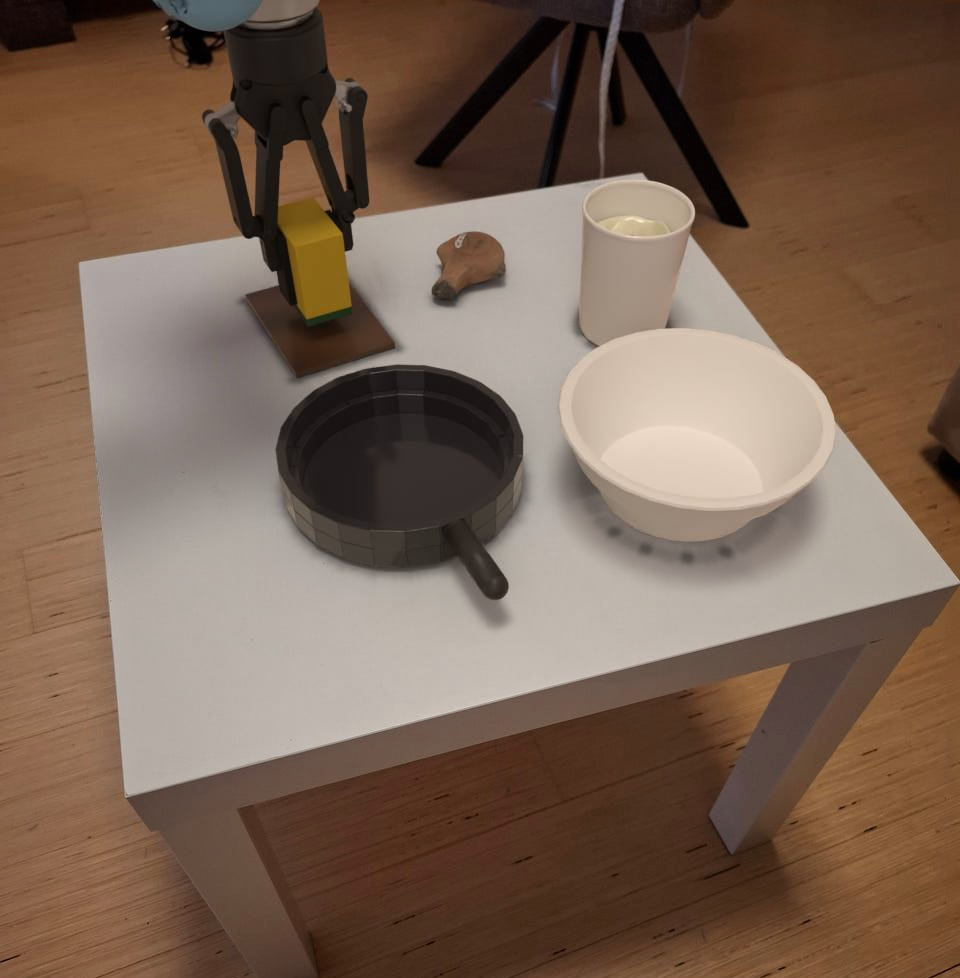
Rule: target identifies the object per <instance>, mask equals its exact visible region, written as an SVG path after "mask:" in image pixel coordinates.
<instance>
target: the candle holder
mask: <svg viewBox="0 0 960 978" xmlns="http://www.w3.org/2000/svg"><path fill="white" fill-rule="evenodd" d="M581 212H582V222H581V223H582V224H581V225H582V227H581V253H580V254H581V255H580V277H579V278H580V279H579V311H578V313H579V318H578V319H579V321H578V322H579V328H580V330H581V333H582V334H583V335H584V337H585V338H586V339H588V341H590V342H591V343H593V344H594V345H596V346H597V347H599V346H601V345H603V344H605V343H607V342H609V341H612V340H614V339H616V338H619V337H623V336H626V335H629V334H633V333H636V332H642V331H648V330H655V329H666V327H667V323H668V320H669V316H670V312H671V309H672V305H673V301H674V297H675V293H676V289H677V285H678V282H679V278H680V273H681V269H682V264H683V261H684V257H685V254H686V249H687V246H688V243H689V238H690V233H691V230H692V226H693V223H694V221H695V219H696V209H695V206H694V203H693V202H692V200H691V199H690V198H689V197H688V196H687V195H686V194H685V193H683V192H682V191H680V190H679V189H678V188H675V187H673V186H672V185H671V186H670V185H668V184H665V183H662V182H659V181H653V180H648V179H640V178H639V179H638V178H635V179H634V178H633V179H629V178H627V179H617V180H614V181H609V182H606V183H603V184H600V185H597V186H596V187H594V188H593V189H592V190H591V191H589V192H588V193H587V195H585V197H584V199H583V201H582V205H581Z"/></svg>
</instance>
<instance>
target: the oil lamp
mask: <svg viewBox="0 0 960 978" xmlns="http://www.w3.org/2000/svg"><path fill="white" fill-rule="evenodd" d="M435 253H436V255H437V257H438V259H439V261H440V263H441V266H442V269H443V271H442V272H441V274H440V277H439V278H438V279H437V280H436V281H435V283H434V284H433V285H432V286H431V294H432V296H433V297H435V298H437V299H440V300H444V299H448V300H452V299H455V298H456V296H457V295H458V293H459V292H460V291H461V290H462V289H464V288H466V287H468V286H471V285H477V284H479V283H481V282H486V281H489V280H491V279H494V278H497V277H499V278H500V277H501V276H503V275H504V274H505V273H506V272H507V269H506V262H505V260H506V259H505V258H506V255H505V250H504V248H503V245H502V244H501V242H500V241H499V240H498V239H496V238H495V237H493V236H492V235H491V234H488V233H486V232H483V231H476V230H475V231H473V230H472V231H471V230H470V231H465V232H462V233H459V234H456V235H455V236H453V237H451V238H450V239H448V240H446V241H444V242H442V243H441V244H439V245H438V247H437V248H436V252H435Z"/></svg>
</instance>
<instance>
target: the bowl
mask: <svg viewBox="0 0 960 978" xmlns="http://www.w3.org/2000/svg"><path fill="white" fill-rule="evenodd" d="M557 411H558V412H557V413H558V417H559V425H560V428H561V430H562V432H563V434H564V436H565V438H566V441H567V443H568V445H569V447H570V449H571V451H572V453H573V455H574V457H575V459H576V461H577V463H578V465H579V467H580V469H581V471H582V472H583V473H584V474H585V476H586V477H587V478H588V479H589V481H590V482H591V483H592V485H594V486H595V487H596V488H597V489H598V492H599V493H600V495H601V498H602V499H603V502H604V503H605V504H606V506H607V507H608V508H609V510H610V511H611V512H612V513H613V514H614V515H616V516H617V517H618V518H619V519H620V520H621V521H623V522H624V523H625V524H627V525H629V526H631V527H633V528H634V529H636V530H637V531H640V532H643V533H644V534H647V535H649V536H652V537H656V538H660V539H663V540H668V541H676V542H685V543H689V542H707V541H712V540H716V539H720V538H724V537H726V536H728V535H731V534H733V533H735V532H737V531H738V530H740V529H742V528H743V527H745V526H746V525H747V524H748V523H749V522H750V521H752V520H755V519H757V518H760V517H763V516H765V515H768V514H770V513H772V512H773V511H774V510H776V509H778V508H779V507H781V506H783V505H784V504H785V503H787V502H788V501H789V500H791V499H792V498H793V497H794V496H796V495H797V494H798V493H799V492H801V491H802V490H804V488H807V487H808V485H810V484H811V483H812V482H813V481H814V480H815V479H816V478H817V477H818V476H819V475H820V474H821V473H822V472H823V471H824V469H825V468H826V466H827V464H828V463H829V461H830V459H831V458H832V455H833V453H834V448H835V443H836V438H837V429H836V422H835V414H834V412H833V410H832V408H831V405H830V403H829V400H828V398H827V396H826V395H825V394H824V392H823V391H822V389H821V388H820V387H819V385H818V384H817V382H816V381H815V380H814V379H813V378H812V377H811V376H810V375H809V374H807V372H805V371H804V370H803V368H801V367H800V366H799V365H798V364H796V363H794V362H793V361H791V360H790V359H788V358H787V357H785V356H783V354H780V353H779V352H778V351H775V350H773V349H771V348H768V347H766V346H764V345H762V344H760V343H758V342H755V341H752V340H749V339H746V338H743V337H741V336H737V335H734V334H729V333H725V332H720V331H715V330H709V329H701V328H690V327H688V328H687V327H674V328H673V327H672V328H671V327H669V328H668V327H667V328H665V329H655V330H648V331H642V332H636V333H633V334H629V335H626V336H623V337H619V338H616V339H614V340H612V341H609V342H607V343H605V344H603V345H601V346H597V347H596V348H594V349H593V350H591V351H589V353H587V354H586V355H585V356H583V357H582V358H581V359H580V360H578V362H577V363H576V364H575V365H574V367H573V368H572V369H571V370H570V371H569V372H568V374H567V376H566V378H565V380H564V382H563V384H562V386H561V388H560V390H559V398H558V404H557Z"/></svg>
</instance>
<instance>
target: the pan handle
mask: <svg viewBox="0 0 960 978" xmlns="http://www.w3.org/2000/svg"><path fill="white" fill-rule="evenodd" d="M444 536H445V538H446V540H447V541H448V543H449V544H450V546H451V547H452V549H453V550H454V552H455V553H456V555H457V556H456V557H457V558H458V559H459V561H460V562H461V564H462V565H463V567H464V568H465V570H467V572H468V574H469V575H470V577H471V578H472V580H473V582H474V583H475V584H476V586H477V587H478V589H479V590H480V592H481V593H482V595H484V597H485V598H487V599H488V600H490V601H491V600H492V601H500V600H501V599H503V598H505V597H506V595H507V594H508V592H509V588H510V585H509V580H508V579H507V577H506V575H505V574H504V572H503V571H502V570H501V568H500V567H499V565H498V563H496V561H495V560H494V558H493V557H492V556H491V554H490V553H489V551H488V550H487V548H486V547H485V546H484V545H483V543H481V542H480V540H479V539H478V537H477V536H476V535H475V533H474V532H473V530H472V529H471V528H470V526H469V525H468V523H467V522H466V521H464V520H456V521H454V522H452V523H451V524H449V525H448V526H447V528H446V529H445V532H444Z"/></svg>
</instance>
